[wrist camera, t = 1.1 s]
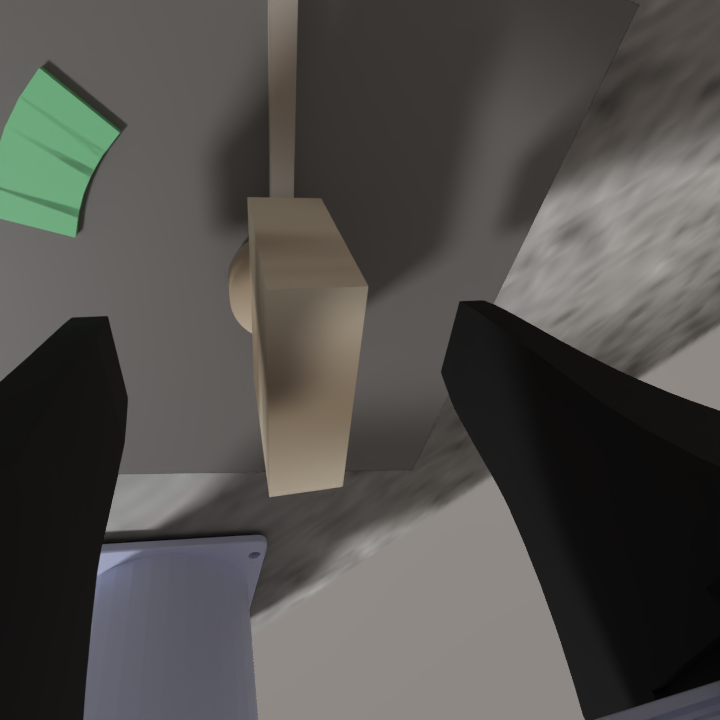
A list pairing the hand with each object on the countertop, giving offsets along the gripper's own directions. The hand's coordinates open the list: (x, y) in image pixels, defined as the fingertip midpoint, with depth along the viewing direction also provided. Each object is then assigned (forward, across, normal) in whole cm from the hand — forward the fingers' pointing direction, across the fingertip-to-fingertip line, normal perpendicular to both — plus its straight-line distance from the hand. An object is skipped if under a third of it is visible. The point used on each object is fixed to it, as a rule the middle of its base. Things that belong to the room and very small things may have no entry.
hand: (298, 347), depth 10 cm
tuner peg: (+3, 0, -2) cm, 4 cm away
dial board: (+4, 0, 0) cm, 5 cm away
